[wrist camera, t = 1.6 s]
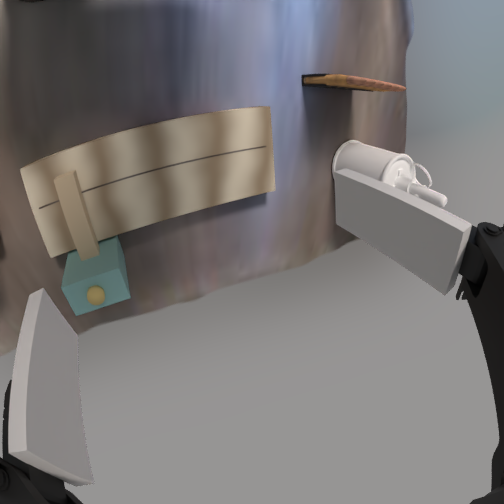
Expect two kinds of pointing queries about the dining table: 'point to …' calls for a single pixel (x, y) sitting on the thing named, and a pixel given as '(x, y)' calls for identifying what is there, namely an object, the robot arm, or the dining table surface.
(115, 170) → the board
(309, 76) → the ammunition clip
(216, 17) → the dining table surface
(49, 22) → the dining table surface
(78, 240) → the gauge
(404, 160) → the white smoke grenade
